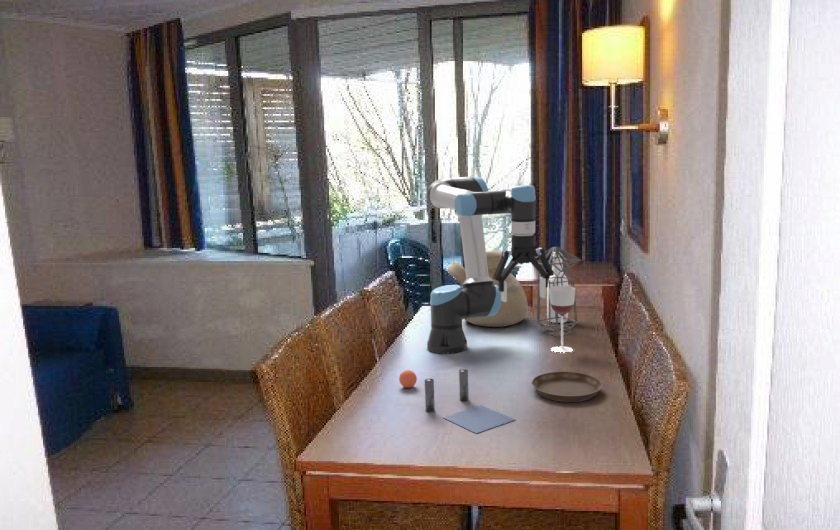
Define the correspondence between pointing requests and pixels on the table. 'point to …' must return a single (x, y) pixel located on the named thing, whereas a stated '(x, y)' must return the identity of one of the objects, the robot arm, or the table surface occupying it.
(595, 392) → the plant saucer
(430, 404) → the post
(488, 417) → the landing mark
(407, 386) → the ball
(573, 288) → the wineglass
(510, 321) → the jug
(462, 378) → the post
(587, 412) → the table surface
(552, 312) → the alcohol
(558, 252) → the geometric lantern
